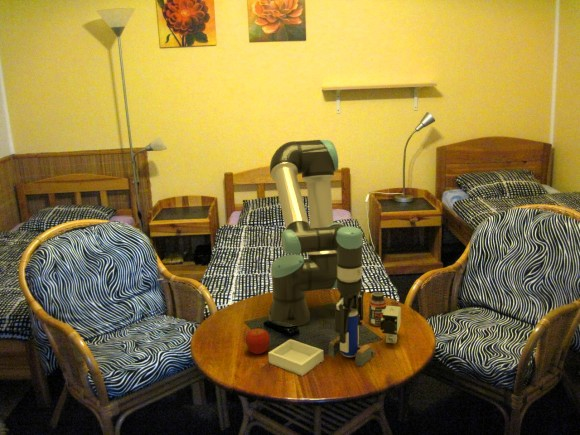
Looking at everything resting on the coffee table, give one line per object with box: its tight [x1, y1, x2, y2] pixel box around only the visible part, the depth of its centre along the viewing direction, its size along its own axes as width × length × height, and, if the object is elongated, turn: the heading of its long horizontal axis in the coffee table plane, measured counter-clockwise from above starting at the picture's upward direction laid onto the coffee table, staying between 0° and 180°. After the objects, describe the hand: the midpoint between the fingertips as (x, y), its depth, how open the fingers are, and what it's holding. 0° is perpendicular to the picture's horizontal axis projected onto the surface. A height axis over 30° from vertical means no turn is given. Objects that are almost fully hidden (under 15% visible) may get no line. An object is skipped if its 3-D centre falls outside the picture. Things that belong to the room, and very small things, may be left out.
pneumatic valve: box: [379, 304, 402, 344], centre depth 180 cm, size 6×12×12 cm, turn 161°
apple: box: [245, 328, 271, 355], centre depth 176 cm, size 8×8×8 cm
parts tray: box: [267, 338, 324, 377], centre depth 170 cm, size 13×11×4 cm
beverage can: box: [340, 308, 359, 358], centre depth 170 cm, size 5×5×15 cm
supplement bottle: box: [368, 291, 387, 327], centre depth 193 cm, size 6×6×11 cm
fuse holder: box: [328, 335, 376, 368], centre depth 172 cm, size 12×8×5 cm, turn 51°
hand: (349, 347), depth 172 cm, fingers closed on beverage can, 5 cm apart
